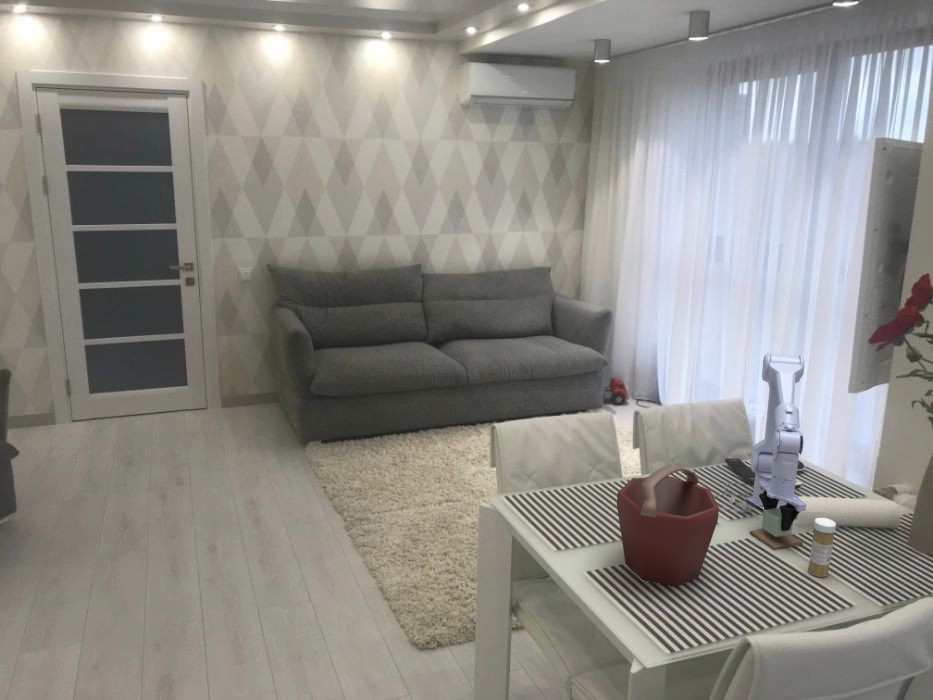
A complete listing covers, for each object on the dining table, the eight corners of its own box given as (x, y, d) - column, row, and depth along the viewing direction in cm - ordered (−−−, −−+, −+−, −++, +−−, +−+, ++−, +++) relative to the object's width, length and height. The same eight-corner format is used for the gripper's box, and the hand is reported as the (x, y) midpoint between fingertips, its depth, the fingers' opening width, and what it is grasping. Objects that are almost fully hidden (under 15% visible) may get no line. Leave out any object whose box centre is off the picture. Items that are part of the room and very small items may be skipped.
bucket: (657, 604, 163) (666, 499, 157) (589, 559, 181) (595, 463, 175) (731, 573, 175) (742, 475, 169) (661, 534, 193) (669, 444, 187)
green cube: (777, 524, 194) (779, 507, 193) (791, 533, 190) (793, 515, 189) (761, 527, 193) (763, 510, 192) (775, 536, 188) (777, 518, 187)
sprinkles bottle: (816, 566, 179) (823, 515, 176) (832, 575, 175) (840, 523, 172) (803, 570, 177) (810, 519, 174) (819, 580, 173) (827, 527, 170)
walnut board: (776, 528, 198) (777, 525, 197) (802, 544, 189) (802, 541, 189) (749, 533, 194) (749, 531, 194) (774, 550, 186) (774, 547, 186)
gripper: (750, 467, 193) (745, 515, 196) (792, 490, 180) (786, 540, 183) (772, 464, 195) (766, 511, 199) (815, 486, 182) (808, 536, 185)
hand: (777, 525), depth 191 cm, fingers closed on green cube, 5 cm apart
